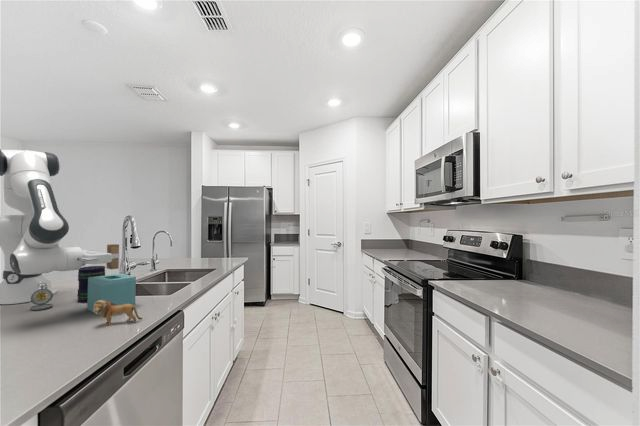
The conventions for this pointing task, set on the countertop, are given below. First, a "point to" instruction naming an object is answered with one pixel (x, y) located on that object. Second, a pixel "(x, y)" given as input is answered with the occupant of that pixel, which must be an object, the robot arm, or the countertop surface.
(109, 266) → the block
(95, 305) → the lion figurine
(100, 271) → the storage jar
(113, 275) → the money box
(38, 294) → the pocket watch
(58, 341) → the countertop surface
